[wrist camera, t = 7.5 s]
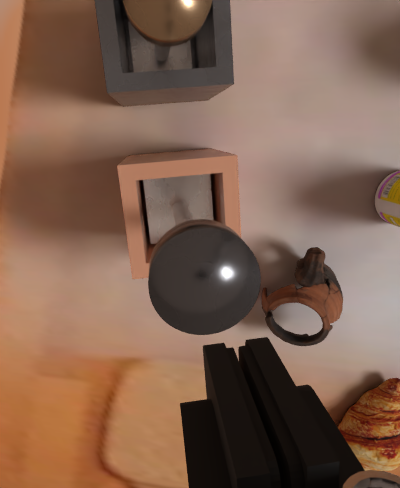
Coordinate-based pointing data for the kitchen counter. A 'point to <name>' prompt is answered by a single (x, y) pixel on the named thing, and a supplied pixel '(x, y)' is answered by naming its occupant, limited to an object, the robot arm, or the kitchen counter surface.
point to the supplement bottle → (389, 199)
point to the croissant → (375, 427)
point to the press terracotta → (174, 165)
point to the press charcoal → (167, 81)
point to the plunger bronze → (164, 32)
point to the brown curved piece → (307, 297)
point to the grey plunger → (196, 259)
